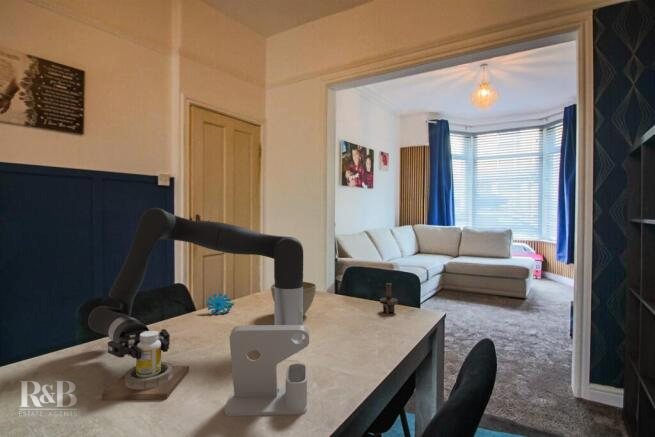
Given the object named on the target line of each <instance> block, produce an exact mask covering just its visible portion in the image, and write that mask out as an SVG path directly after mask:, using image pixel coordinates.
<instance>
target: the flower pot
mask: <svg viewBox="0 0 655 437" xmlns="http://www.w3.org/2000/svg"><path fill="white" fill-rule="evenodd" d="M316 289H317V285H316V284H315V283H314V282H313V283H312V282H308V281H303V316H305V314H306V313H307V312H308V310H309V309H310V307H311V306H312V303H313V302H314V299H315V296H316ZM270 292H271V295H272V296H271V297H272V299H273V302H274V301H275V283H273V284H271V285H270Z"/></svg>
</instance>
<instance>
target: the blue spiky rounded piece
mask: <svg viewBox="0 0 655 437" xmlns="http://www.w3.org/2000/svg"><path fill="white" fill-rule="evenodd" d="M231 300H232V299H231V297H228V295H227V294H226V293H225V294H224V295H223V293H222V292H218V296H217V293H213V294H212V296H209V297H208V300H207V301H206V305H207V310H208V311H209V310H211V311H210V313H212V314H215V313H216V315H218V316H220V314H221V311H222V315H225V314H226V313H227V311H228V312H229V311H230V310H231V309H232V308H233V306H235V301H232V302H231ZM225 309H226V310H225Z"/></svg>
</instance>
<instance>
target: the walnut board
mask: <svg viewBox="0 0 655 437" xmlns="http://www.w3.org/2000/svg"><path fill="white" fill-rule="evenodd" d="M189 372H190V365H173V364H172V363H169V362H166V361H161V371H160V372H159V373H158V374H157V375H155V376H153V377H148V378H140V377H138V376H137V375H136V366H133V367H131V368H129V369H128V370H127V371H126V372H125V374H124V375H123V376H121V377H120V378H119V379H118V380H117V381H115V383H113V384H112V385H111V386H110V387H108V389H105V391H104V392H103V393H102V394H101V400H102V401H103V400H104V401H107V400H108V401H109V400H167V399H168V398H169V397H170V396H171V394H172V393H173V391H175V389H176V388H177V387H178V386H179V384H180V383H181V382H182V381H183V379H184V378H185V377H186V376H187V375H188V374H189Z"/></svg>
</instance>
